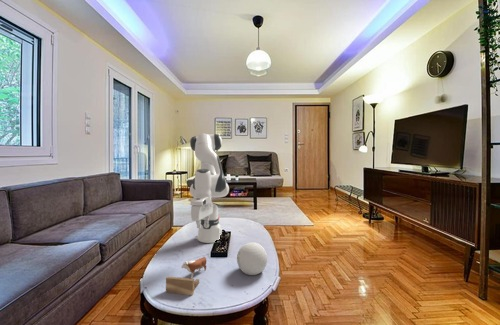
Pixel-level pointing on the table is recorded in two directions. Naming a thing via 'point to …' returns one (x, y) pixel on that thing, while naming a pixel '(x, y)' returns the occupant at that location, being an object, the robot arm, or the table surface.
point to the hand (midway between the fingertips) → (202, 225)
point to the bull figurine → (195, 265)
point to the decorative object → (252, 258)
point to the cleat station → (181, 285)
